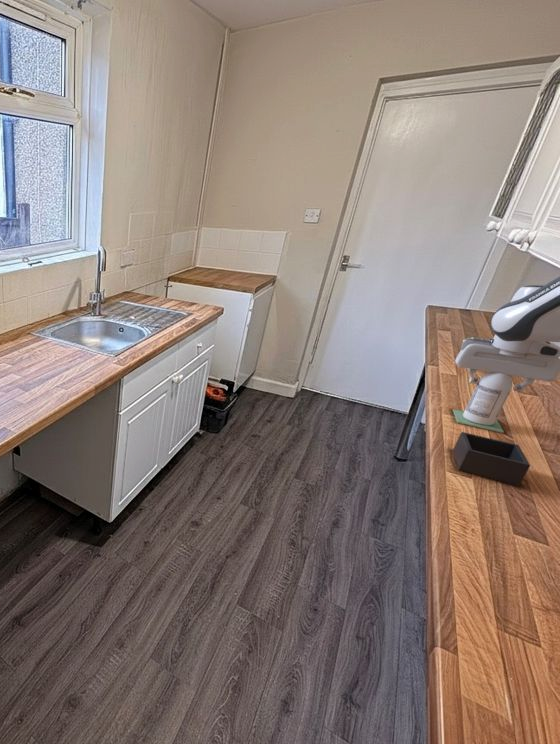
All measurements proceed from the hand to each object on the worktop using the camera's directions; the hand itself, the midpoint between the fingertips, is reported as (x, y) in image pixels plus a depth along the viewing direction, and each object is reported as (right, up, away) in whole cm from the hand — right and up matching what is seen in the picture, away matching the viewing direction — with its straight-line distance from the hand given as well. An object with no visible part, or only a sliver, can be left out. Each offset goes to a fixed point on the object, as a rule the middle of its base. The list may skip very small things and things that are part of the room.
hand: (494, 387), depth 121 cm
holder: (-21, -20, -17) cm, 33 cm away
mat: (0, -11, +5) cm, 12 cm away
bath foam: (0, -10, +5) cm, 11 cm away
